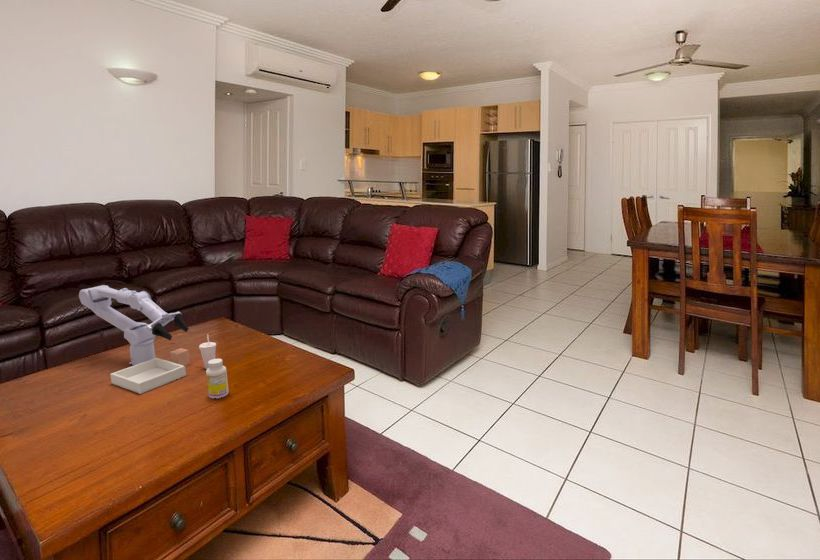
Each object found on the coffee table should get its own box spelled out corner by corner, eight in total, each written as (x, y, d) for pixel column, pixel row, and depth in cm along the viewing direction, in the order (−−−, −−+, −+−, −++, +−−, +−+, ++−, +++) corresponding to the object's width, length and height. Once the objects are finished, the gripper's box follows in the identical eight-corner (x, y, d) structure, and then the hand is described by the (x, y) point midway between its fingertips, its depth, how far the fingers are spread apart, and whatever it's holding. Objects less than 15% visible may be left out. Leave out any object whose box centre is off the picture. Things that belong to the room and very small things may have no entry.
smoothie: (212, 370, 182) (208, 337, 179) (197, 369, 183) (194, 336, 180) (221, 364, 188) (218, 332, 185) (207, 363, 189) (204, 331, 186)
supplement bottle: (212, 391, 164) (208, 357, 162) (231, 390, 165) (227, 356, 162) (205, 399, 158) (201, 365, 155) (225, 398, 158) (222, 364, 156)
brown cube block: (171, 365, 187) (169, 351, 186) (182, 361, 192) (180, 348, 190) (178, 368, 185) (177, 354, 184) (190, 363, 189) (188, 350, 188)
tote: (111, 383, 171) (110, 373, 170) (157, 366, 186) (156, 357, 185) (140, 394, 162) (138, 383, 161) (186, 375, 177) (185, 366, 177)
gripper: (139, 313, 174) (164, 335, 172) (172, 299, 186) (196, 319, 184) (137, 326, 178) (161, 347, 175) (169, 311, 190) (192, 331, 188)
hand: (179, 334), depth 180 cm, fingers open, 7 cm apart
